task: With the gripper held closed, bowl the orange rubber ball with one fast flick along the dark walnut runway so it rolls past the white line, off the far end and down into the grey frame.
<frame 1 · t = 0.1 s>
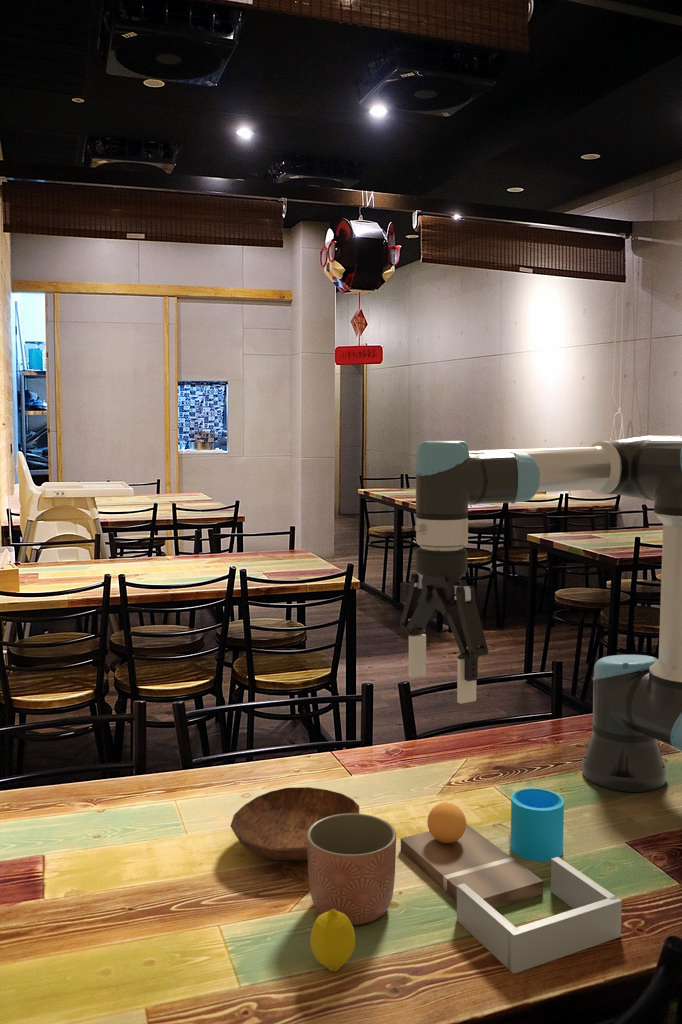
hand: (440, 688, 126), 28 cm above the table, fingers open, 13 cm apart
grey frame: (535, 927, 113), on the table
ball: (446, 822, 133), point 5 cm above the table, touching runway
fruit: (333, 970, 105), on the table
mug: (530, 843, 137), on the table
planter: (351, 909, 118), on the table
bowl: (296, 846, 136), on the table
runway: (468, 871, 128), on the table
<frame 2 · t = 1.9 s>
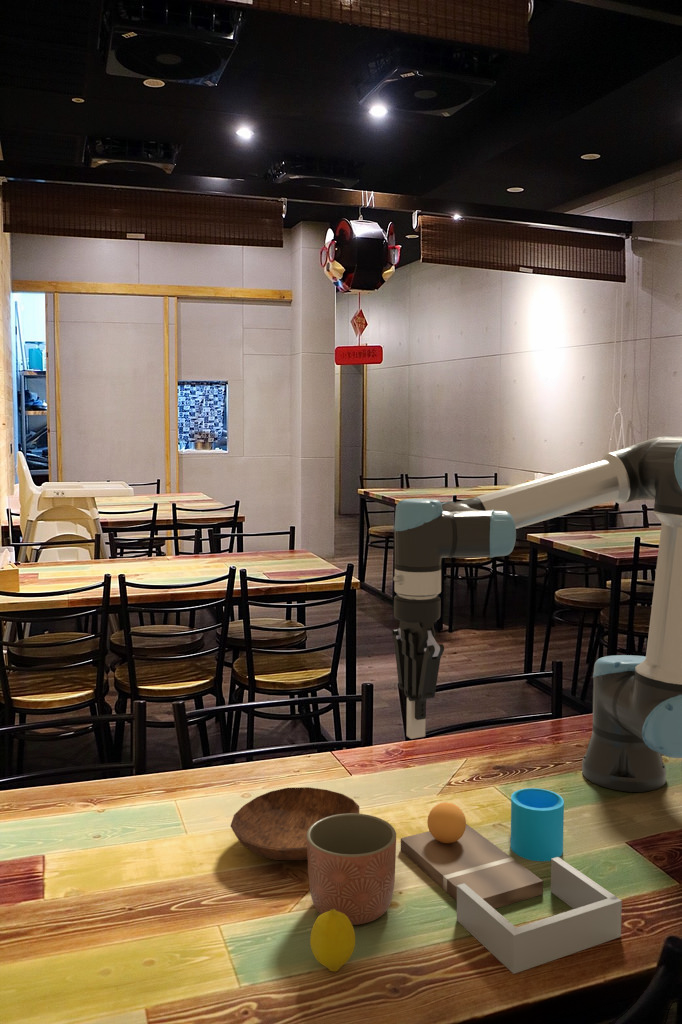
hand: (415, 736, 140), 16 cm above the table, fingers closed
nothing on the table moved.
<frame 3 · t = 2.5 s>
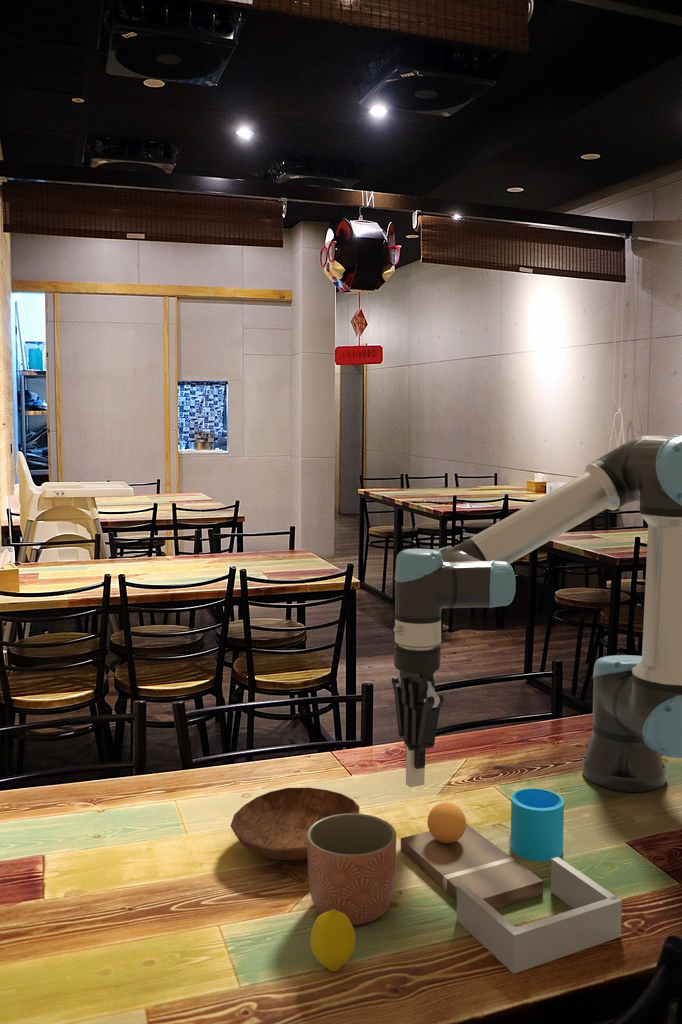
hand: (415, 784, 140), 8 cm above the table, fingers closed
nothing on the table moved.
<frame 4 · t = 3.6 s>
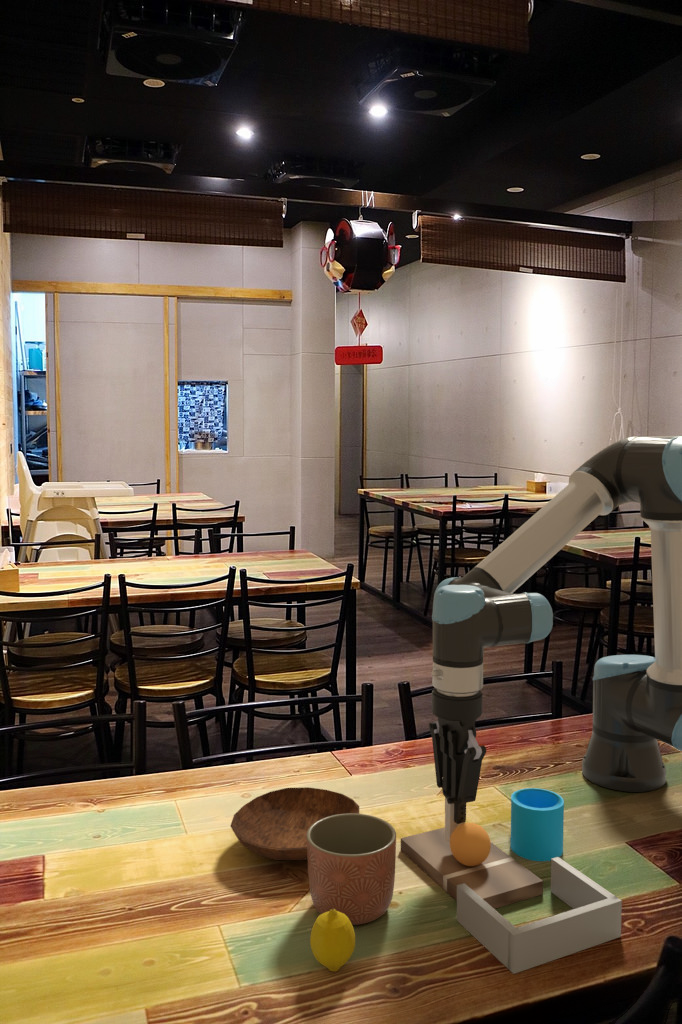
hand: (455, 839, 130), 4 cm above the table, fingers closed
ball: (470, 844, 126), point 5 cm above the table, tilted 109°, touching runway
everything else where it was.
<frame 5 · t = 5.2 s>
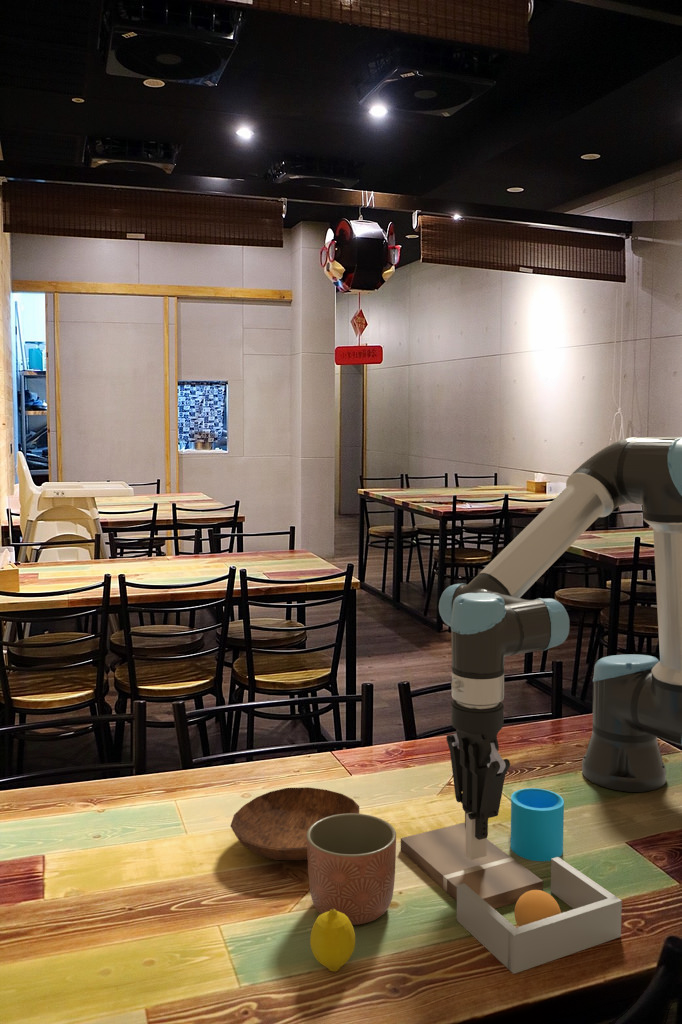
hand: (476, 855, 126), 3 cm above the table, fingers closed
ball: (537, 914, 111), point 3 cm above the table, tilted 75°
everything else where it was.
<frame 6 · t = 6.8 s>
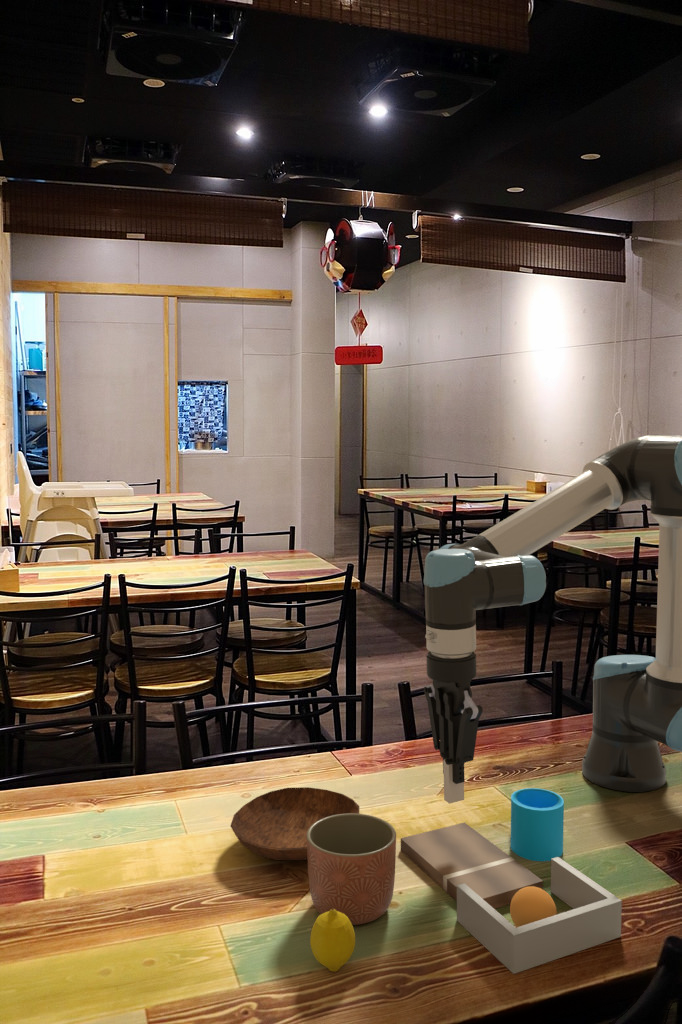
hand: (454, 799, 132), 9 cm above the table, fingers closed
ball: (533, 911, 112), point 3 cm above the table, tilted 57°
everything else where it was.
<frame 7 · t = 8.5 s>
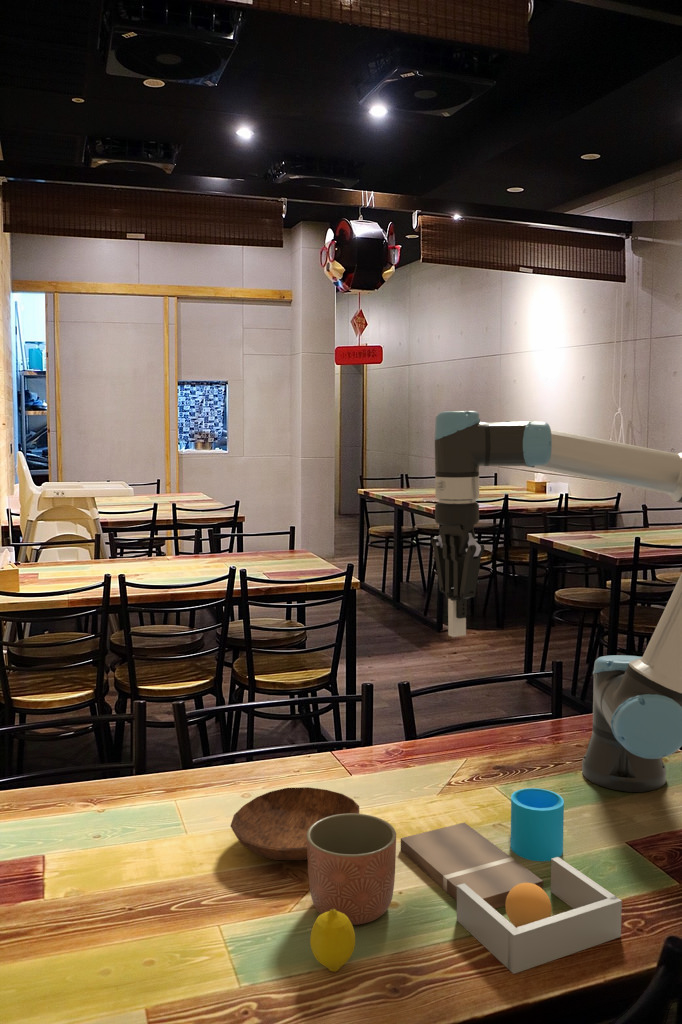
hand: (457, 635, 149), 30 cm above the table, fingers closed
ball: (528, 907, 113), point 3 cm above the table, tilted 38°
everything else where it was.
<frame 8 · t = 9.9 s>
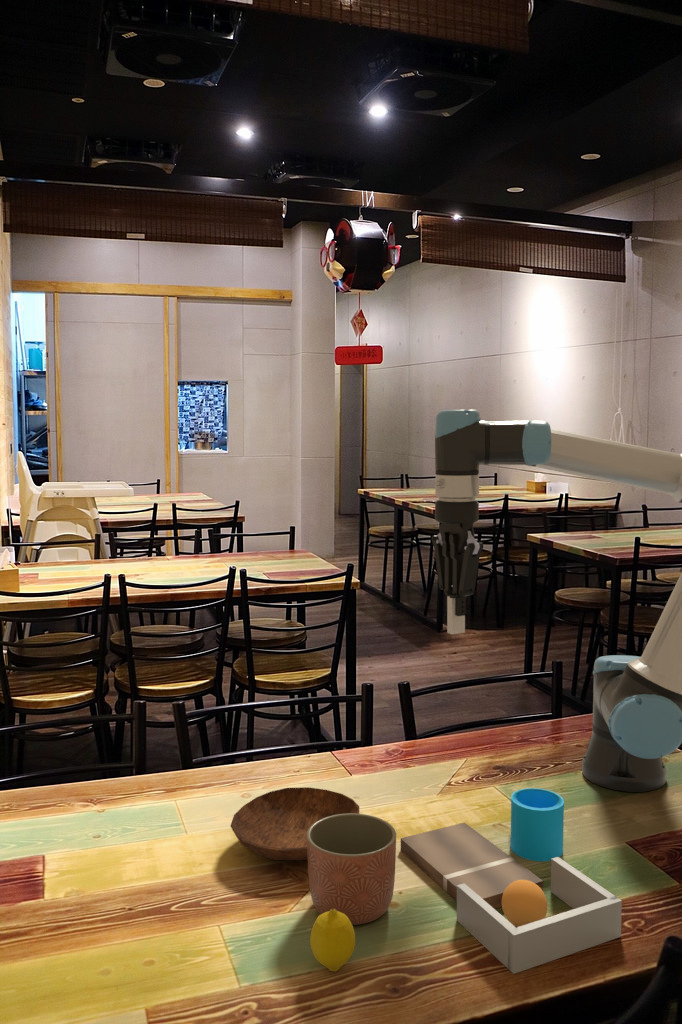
hand: (456, 632, 150), 30 cm above the table, fingers closed
ball: (524, 904, 114), point 3 cm above the table, tilted 22°
everything else where it was.
at the end: ball inside the target area (1.7 cm from its centre), point 3.0 cm above the table; ball moved 21.1 cm from its start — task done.
